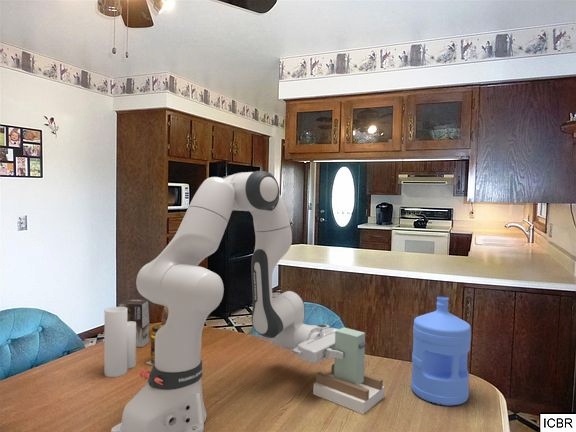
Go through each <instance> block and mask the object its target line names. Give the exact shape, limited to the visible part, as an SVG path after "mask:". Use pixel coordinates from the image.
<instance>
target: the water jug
mask: <svg viewBox="0 0 576 432" xmlns="http://www.w3.org/2000/svg"><path fill="white" fill-rule="evenodd" d="M436 299H437V301H436V309H435V310H434V311H431V312H428V313H425V314H422V315H418V316H416V317H415V318H414V319H413V325H412V332H413V333H412V334H413V337H412V338H413V340H412V342H413V343H412V354H411V362H412V363H411V364H412V369H411V370H412V371H411V374H412V375H411V380H410V381H411V382H410V387H411V390H412V392H413V393H414V394H415V395H416V396H417V397H419V398H420V399H422V400H425V401H426V402H429V403H431V402H432V403H431V404H435V403H436V405H440V404H441V406H459V405H462V404H464V403H466V402H467V401H468V399H469V397H470V396H469V395H470V390H469V389H470V388H469V383H470V381H469V380H470V379H469V378H470V373H469V371H468V353H469V352H470V351H471V341H472V328H471V325H470V324H469V323H468V322H467V321H465V320H463V319H461V318H459V317H458V316H457V315H454V314H452V313H450V311H449V297H446V296H437V297H436Z"/></svg>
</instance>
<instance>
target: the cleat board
mask: <svg viewBox="0 0 576 432" xmlns="http://www.w3.org/2000/svg"><path fill="white" fill-rule="evenodd" d="M383 381H384V380H383V379H382V378H380V377H376V376H373V375H369V374H367V373H364V382H362V383H361V384H359V385H358V386H357V385H354V384H351V383H349V382H346V381H343V380H340V379H337V378H334V363H333V364H331V373H330V374H326V373H323V372H319V371H318V372H317V373H316V377H315V382H314V383H313V389H312V390H313V392H312V394H313V395H315V397H316V396H317V397H320V398H322V399H324V400H327V401H329V402H332V403H334V404H337V405H339V406H343V407H344V408H347V409H350V410H352V411H355V412H357V413H359V414H362V415H364V414H365V413H367V412H368V411H369V410H370V409H372V408H373V407H374V406H375V405H376V404H378V403H379V402H380V401H381V400H382V399H384V398H385V386H383Z"/></svg>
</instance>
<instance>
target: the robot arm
mask: <svg viewBox="0 0 576 432" xmlns="http://www.w3.org/2000/svg"><path fill="white" fill-rule="evenodd" d="M186 209H187V210H186V212H185V214H184V216H183V218H182V221H181V222H180V225H179V227H178V229H177V231H176V233H175V234H174V236H173V237H172V238H171V241H169V243H168V244H167V245H166V247H165V248H164V249H163V250H162V251H161V253H159V254H158V256H157V257H155V258H154V259H153V260H151V261H150V262H148V263H146V264H144V265H143V266H142V267H141V268H140V270H139V271H138V273H137V276H136V280H135V282H136V283H135V284H136V285H135V286H136V289H137V291H138V294H139V295H140V296H141V297H143V298H145V300H149V302H150V303H153V304H155V305H159V306H167V307H168V310H169V313H168V318H167V321H166V324H165V325H163V326H162V327H161V328H160V329H159V330H158V331H157V332H156V335H155V363H154V365H152V367H151V370H147V368H141V370H140V371H139V372H138V377H140V378H142V379H143V380H147V382H146V383H145V384H144V386H142V388H140V390H139V391H138V392H137V393H136V394H135V395H134V396H133V397H132V398H131V399H130V400H129V402H127V403H126V405H125V406H124V408H123V411H122V416H121V422H119V423H118V424H116V425H114V426H113V427H111V431H110V432H204V431H205V427H204V425H205V424H204V423H205V422H206V420H207V417H208V416H207V410H206V408H205V403H204V397H203V388H202V377H203V361H202V357H201V355H202V336H203V335H202V334H203V329H204V325H205V322H206V320H207V318H208V316H209V315H210V314H211V313H212V312H213V311H215V310H216V309H217V308H218V307H219V306H220V303H222V300H223V298H224V290H225V288H224V283H223V280H222V278H221V276H220V275H219V274H217V273H216V272H214V271H211V270H210V269H207V268H206V267H203V266H199V265H200V264H201V262H202V261H204V260H205V258H207V257H210V256H211V255H212V254H215V252H216V251H217V250H218V249H219V246H220V244H221V241H222V239H223V236H224V234H225V230H226V229H227V226H228V223H229V221H230V218H231V215H232V212H235V211H240V212H241V211H244V212H250V215H251V216H252V218H253V219H252V220H253V221H252V222H253V228H254V235H255V245H254V251H253V253H252V255H251V263H250V268H251V269H250V270H251V291H252V309H251V310H252V311H251V325H252V327H253V329H254V331H255V332H256V333H257V334H258V335H260V336H262V337H263V338H265V339H267V340H268V341H269V342H270V343H272V344H273V345H275V346H277V347H280V348H283V349H286V350H291V352H292V353H293V354H295V355H297V357H298V358H299V359H301V360H303V361H305V362H308V363H311V364H318V363H320V362H322V361H324V360H326V359H328V358H329V359H330V358H331V359H335V358H339V359H343V358H344V357H345V352H344V351H341V350H339V351H337V350H335V331H336V330H339V329H340V328H334V327H330V325H329V324H317V325H314V324H310V325H309V324H307V323H305V317H306V316H305V313H306V310H305V308H306V307H305V302H304V300H303V298H302V297H301V296H300V295H299V294H298V293H296V292H295V291H292V290H287V291H284V292H283V293H281V294H279V295H277V296H275V297H273V283H272V282H273V281H272V278H273V276H272V275H273V272H274V269H275V267H276V266H277V265H278V263H279V262H280V260H281V259H283V257H284V256H285V255H286V254H287V253H288V252H289V250H290V248H291V247H292V243H293V233H292V227H291V222H290V217H289V213H288V210H287V206H286V203H285V201H284V198H283V197H282V195H281V194H280V187H279V183H278V181H277V178H275V176H274V175H273V174H272V173H270V172H268V171H264V170H256V171H248V172H247V171H245V172H243V171H241V172H237V173H233V174H231V175H228V174H227V175H225V176H223V177H219V176H211V177H207V178H206V179H204V180H203V182H202V183H201V184H200V186H199V187H198V189H197V190H196V192H195V194H193V197H192V198H191V201H190V203H189V205H188V207H187V208H186Z"/></svg>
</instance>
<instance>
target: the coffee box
mask: <svg viewBox="0 0 576 432" xmlns="http://www.w3.org/2000/svg"><path fill="white" fill-rule="evenodd" d="M118 307H126V308H127V322H129V321H133V322H136V348H144V347H145V346H146V345H147V344H149V343H151V335H150V301H149V300H148V299H129V298H127V299H126V300H123V301H122V302H120V303H119V305H118Z"/></svg>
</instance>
